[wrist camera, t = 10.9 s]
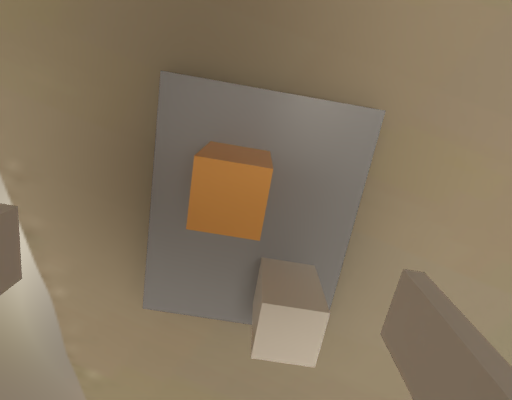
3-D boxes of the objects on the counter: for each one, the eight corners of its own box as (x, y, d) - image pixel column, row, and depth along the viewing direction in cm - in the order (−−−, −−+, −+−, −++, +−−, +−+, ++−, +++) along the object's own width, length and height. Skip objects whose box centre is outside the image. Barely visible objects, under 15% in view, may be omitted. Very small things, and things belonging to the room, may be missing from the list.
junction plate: (165, 71, 27) (125, 61, 19) (379, 109, 27) (428, 115, 19) (147, 299, 33) (111, 364, 25) (320, 325, 34) (338, 396, 26)
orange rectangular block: (210, 141, 27) (194, 155, 20) (270, 151, 27) (273, 168, 20) (203, 198, 28) (185, 229, 22) (259, 207, 29) (259, 240, 22)
